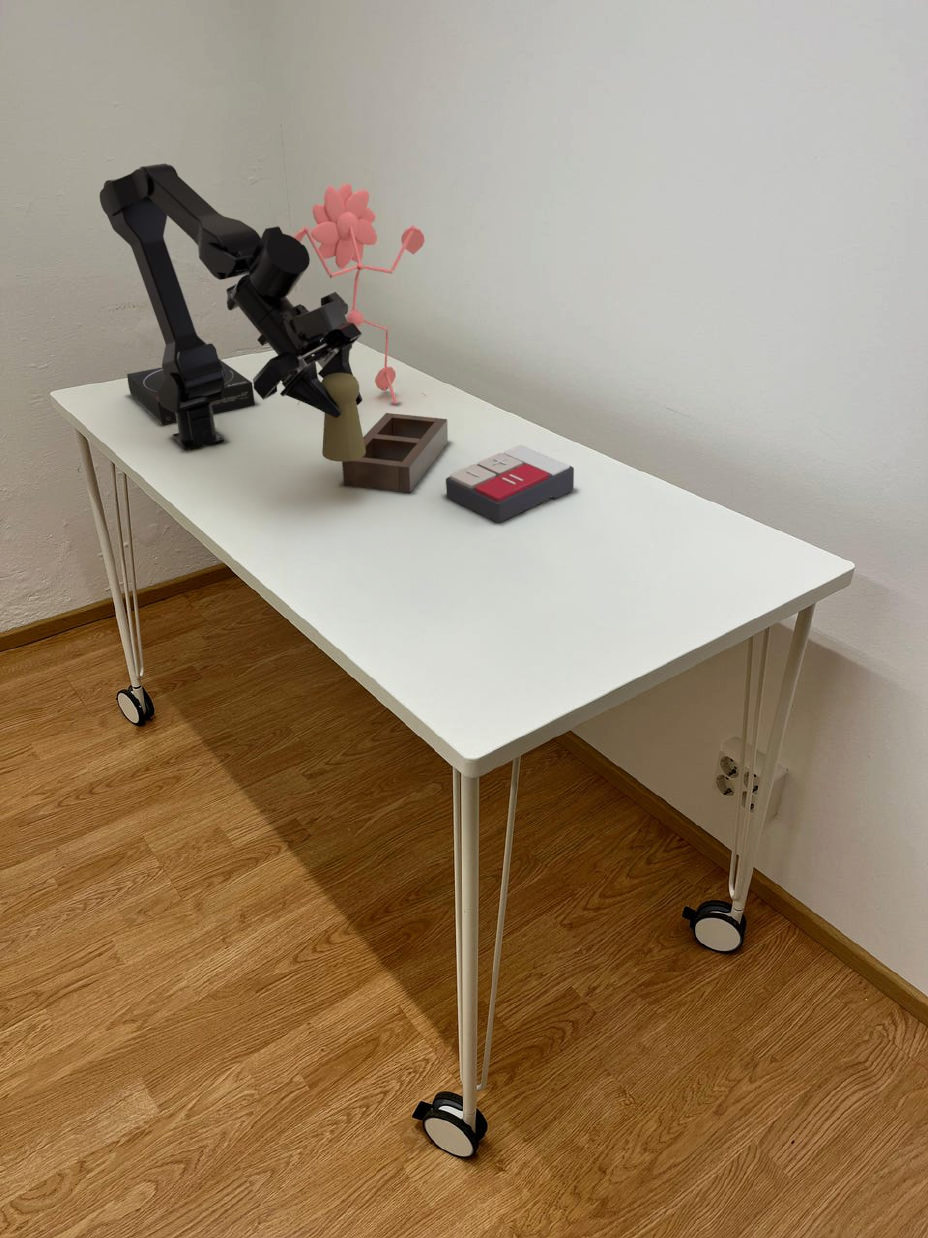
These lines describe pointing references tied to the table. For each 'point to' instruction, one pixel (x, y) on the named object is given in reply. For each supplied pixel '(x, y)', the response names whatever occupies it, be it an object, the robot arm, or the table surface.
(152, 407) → the portable cd player
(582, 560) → the table surface
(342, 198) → the figurine
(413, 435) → the hole block
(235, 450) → the table surface
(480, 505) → the calculator
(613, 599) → the table surface
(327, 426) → the olive game pawn
